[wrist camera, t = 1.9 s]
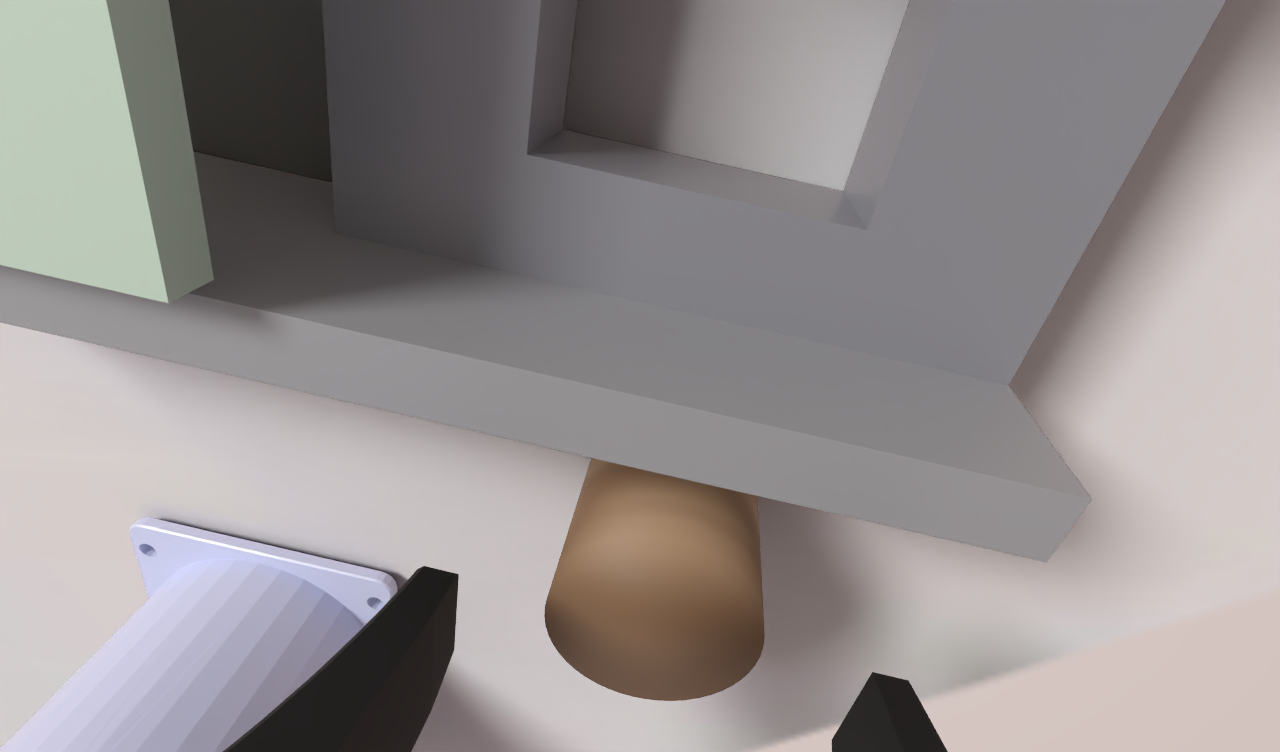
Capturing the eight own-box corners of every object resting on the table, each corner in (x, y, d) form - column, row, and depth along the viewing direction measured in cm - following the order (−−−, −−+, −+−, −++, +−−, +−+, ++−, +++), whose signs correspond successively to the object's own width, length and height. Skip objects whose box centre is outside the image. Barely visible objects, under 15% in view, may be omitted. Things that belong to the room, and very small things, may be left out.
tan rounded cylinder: (732, 539, 17) (731, 719, 13) (584, 505, 17) (534, 672, 13) (775, 416, 15) (793, 580, 11) (608, 378, 15) (558, 526, 11)
